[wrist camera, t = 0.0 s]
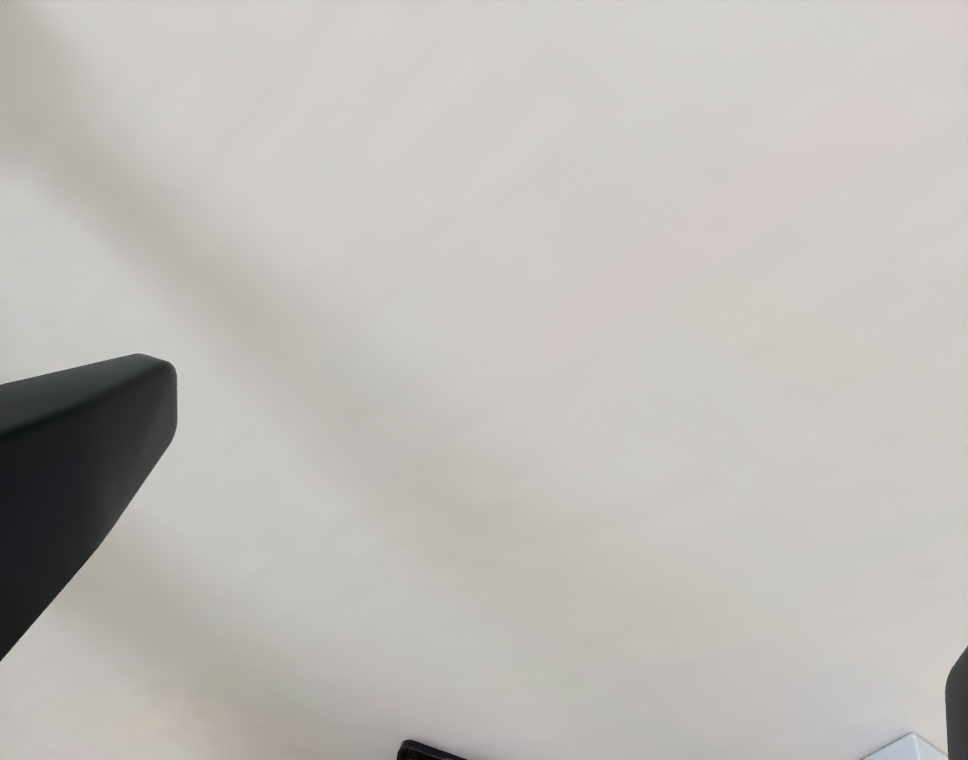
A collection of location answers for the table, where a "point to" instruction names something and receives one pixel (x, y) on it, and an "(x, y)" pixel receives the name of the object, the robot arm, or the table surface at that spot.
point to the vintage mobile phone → (908, 750)
